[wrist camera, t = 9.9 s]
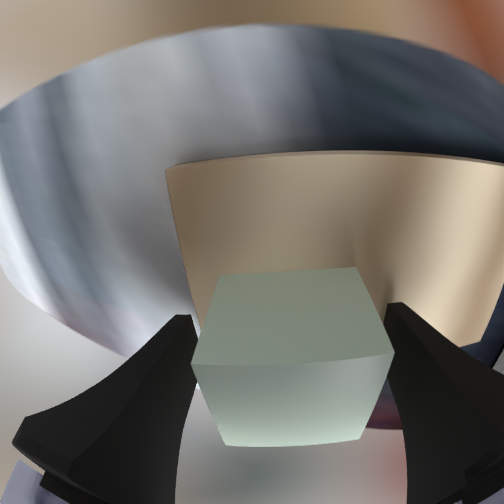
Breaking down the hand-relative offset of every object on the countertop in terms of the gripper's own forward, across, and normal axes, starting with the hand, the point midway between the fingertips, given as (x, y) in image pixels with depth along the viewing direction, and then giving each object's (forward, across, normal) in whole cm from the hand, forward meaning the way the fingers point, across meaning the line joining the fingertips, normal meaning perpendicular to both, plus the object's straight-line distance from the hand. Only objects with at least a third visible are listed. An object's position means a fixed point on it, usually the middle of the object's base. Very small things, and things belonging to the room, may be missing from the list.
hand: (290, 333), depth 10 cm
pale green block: (0, 0, 0) cm, 0 cm away
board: (+2, -4, -2) cm, 4 cm away
